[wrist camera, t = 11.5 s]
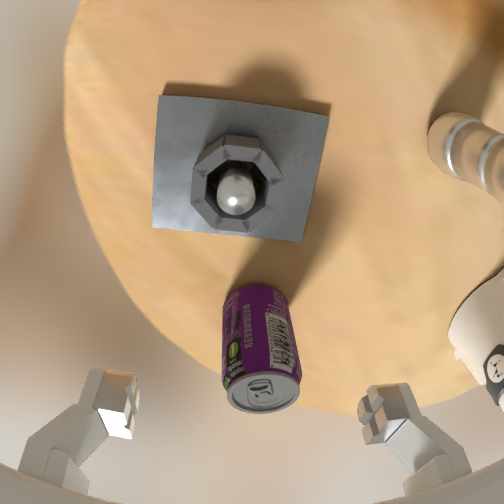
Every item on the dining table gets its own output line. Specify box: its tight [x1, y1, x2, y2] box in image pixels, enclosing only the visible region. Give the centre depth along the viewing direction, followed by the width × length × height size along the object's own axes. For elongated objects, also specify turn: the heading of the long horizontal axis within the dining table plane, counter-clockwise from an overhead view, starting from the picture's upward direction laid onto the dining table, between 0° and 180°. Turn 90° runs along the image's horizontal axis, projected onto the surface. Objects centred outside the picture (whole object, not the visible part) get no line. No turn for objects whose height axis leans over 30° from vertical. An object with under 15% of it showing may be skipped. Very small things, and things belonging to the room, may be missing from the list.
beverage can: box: [222, 285, 302, 414], centre depth 31 cm, size 7×7×12 cm
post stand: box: [152, 95, 329, 242], centre depth 25 cm, size 14×12×7 cm
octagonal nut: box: [190, 134, 285, 233], centre depth 24 cm, size 6×6×4 cm
